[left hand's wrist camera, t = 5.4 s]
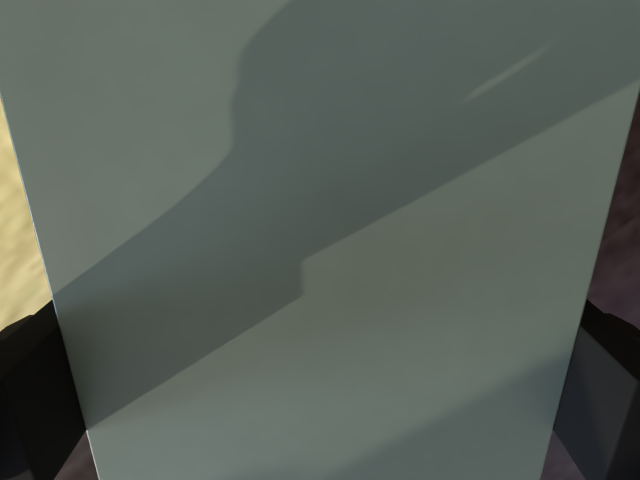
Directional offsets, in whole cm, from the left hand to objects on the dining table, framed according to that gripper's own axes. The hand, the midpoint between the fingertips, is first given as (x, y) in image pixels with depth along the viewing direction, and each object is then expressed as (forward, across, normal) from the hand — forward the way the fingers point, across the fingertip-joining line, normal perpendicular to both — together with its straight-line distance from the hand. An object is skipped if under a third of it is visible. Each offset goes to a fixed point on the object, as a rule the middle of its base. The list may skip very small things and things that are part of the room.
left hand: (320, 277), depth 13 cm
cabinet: (+4, 0, -5) cm, 6 cm away
